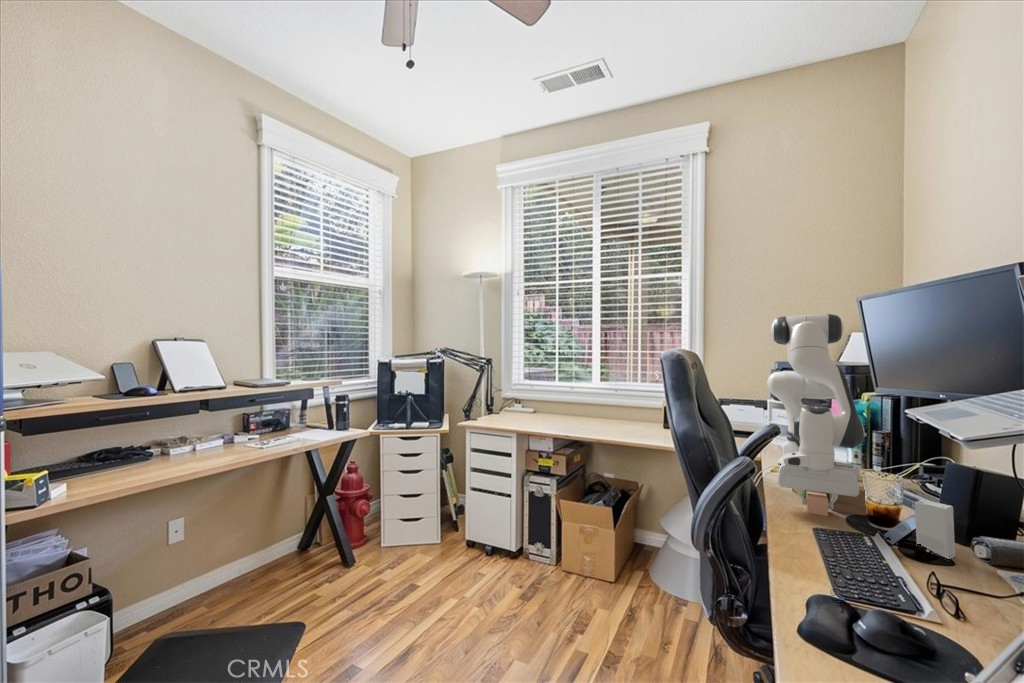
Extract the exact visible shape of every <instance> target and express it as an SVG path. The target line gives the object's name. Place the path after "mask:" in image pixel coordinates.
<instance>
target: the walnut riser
mask: <svg viewBox="0 0 1024 683" xmlns="http://www.w3.org/2000/svg"><path fill="white" fill-rule="evenodd" d="M864 484H865V483H859V482H858V485H859V495H858V496H857V497H852V496H845V495H838V499H837V500H836V501H835V502H834V503H833V509H831V511H832V512H833V511H834V512H839V513H843V514H851V515H859V516H865V517H867V516H866V515H867V513H866V505H865V489H864ZM831 499H832V495H831V494H829V499H828V501H830V500H831Z"/></svg>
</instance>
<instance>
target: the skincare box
mask: <svg viewBox="0 0 1024 683" xmlns="http://www.w3.org/2000/svg"><path fill="white" fill-rule="evenodd" d="M914 513H915V514H914V515H915V536H916V540H915V541H916V545H917V544H921V545H923V546H924V547H926V548H927V549H929V550H931V551H933V552H934V553H937V554H939V555H941V556H943V557H945V558H947V559H951V558H952V559H954V558H955V557H956V548H955V547H956V544H955V542H956V541H955V522H954V521H955V518H954V506H952V505H949V504H946V503H940V502H935V501H933V500H926V499H923V498H921V499H919V500H917V501H915V502H914ZM953 557H954V558H953ZM952 559H951V560H952Z"/></svg>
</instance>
